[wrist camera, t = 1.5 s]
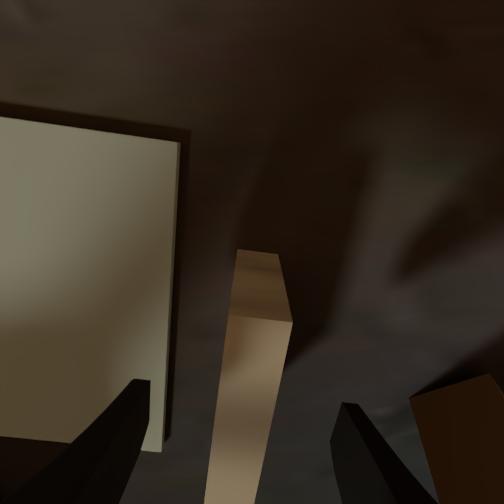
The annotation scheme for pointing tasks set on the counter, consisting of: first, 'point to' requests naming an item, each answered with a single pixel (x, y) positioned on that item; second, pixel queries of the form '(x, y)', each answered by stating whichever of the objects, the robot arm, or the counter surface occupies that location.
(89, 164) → the mat
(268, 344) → the oak tile
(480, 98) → the counter surface
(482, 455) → the photo frame
